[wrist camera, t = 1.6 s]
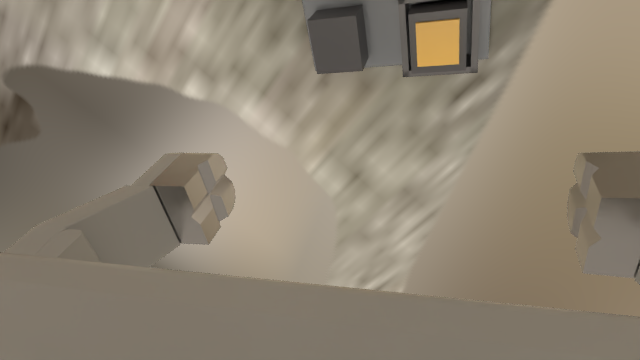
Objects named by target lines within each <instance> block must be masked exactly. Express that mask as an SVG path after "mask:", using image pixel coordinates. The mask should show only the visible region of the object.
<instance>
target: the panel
mask: <svg viewBox="0 0 640 360" xmlns="http://www.w3.org/2000/svg"><path fill="white" fill-rule="evenodd" d="M439 1H448V0H302V3H303V8H304V14H305V19H306V24H307V29H308V34H309V39H310V45H311V50H312V55H313V60H314V65H315V70H316V71H317V74H323V73H338V72H353V71H363V69H364V68H365V67H379V66H393V65H402V68H403V77H412V76H429V75H445V74H461V73H478V59H488V53H489V34H490V15H491V0H467V45H466V70H464V71H448V72H432V73H416V74H412V72H411V54H410V36H409V18H408V14H409V11H410V8H411V5H413V4H422V3H430V2H439Z"/></svg>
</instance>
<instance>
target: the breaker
mask: <svg viewBox="0 0 640 360" xmlns="http://www.w3.org/2000/svg"><path fill="white" fill-rule="evenodd" d="M408 18H409V36H410V54H411V72H412V74H416V73H432V72H448V71H464V70H466V45H467V0H448V1H439V2H430V3H422V4H413V5H411V8H410V11H409V14H408Z"/></svg>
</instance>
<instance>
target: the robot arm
mask: <svg viewBox="0 0 640 360" xmlns="http://www.w3.org/2000/svg"><path fill="white" fill-rule="evenodd" d="M226 170H227V166H226V163H225V161H224V158H223V157H222V156H221V155H219V154H218V153H168V154H165V155H163V156H162V157H161V158H160V159H159V160H158V161H157V162H156V163H155V164H154V165H153V166H152V167H150V169H148V171H146V172H145V173H144V174H143V175H142V176H141V177H140V178H139V179H138V180H136V181H135V182H134V183H133V184H132V185H131V186H124V187H122V188H119V189H117V190H115V191H113V192H110V193H108V194H106V195H104V196H101V197H99V198H97V199H95V200H92V201H90V202H88V203H86V204H83V205H81V206H79V207H77V208H74V209H72V210H70V211H68V212H65V213H63V214H61V215H59V216H56V217H54V218H52V219H50V220H47V221H45V222H43V223H40V224H38V225H36V226H35V227H34V228H32V229H31V230H30V231H29V232H28V233H26V234H25V235H24V236H23V237H22V238H20V239H19V240H18V241H17V242H15V243H14V244H13V245H12V246H11V247H9V249H7V250H6V251H4V252H0V360H640V317H635V316H625V315H616V314H605V313H596V312H586V311H576V310H567V309H556V308H547V307H537V306H527V305H516V304H507V303H497V302H487V301H478V300H467V299H458V298H448V297H438V296H428V295H417V294H408V293H398V292H389V291H379V290H369V289H359V288H349V287H339V286H329V285H319V284H309V283H299V282H289V281H279V280H269V279H260V278H250V277H239V276H230V275H220V274H210V273H200V272H190V271H181V270H171V269H161V268H150V266H152V265H153V264H154V263H156V262H157V261H159V260H160V259H161V258H162V257H164V256H165V255H167V254H168V253H170V252H171V251H172V250H174V249H175V248H176V247H178V246H179V245H180V243H184V244H185V243H186V244H207V245H209V243H210V242H211V241H212V239H213V238H214V236H215V235H216V233H217V231H218V230H219V229H220V227H221V226H220V222H219V221H221V220H223V219H224V218H226V217H228V216H229V214H230V213H231V211H232V209H233V207H234V203H235V189H234V186H233V183H232V181H231V180H229V179H228V178H227V177H226V176H225V172H226ZM573 172H574V175H575V178H576V181H577V183H576V184H575V185H574V186H573V187H572V188H571V189H570V191H569V197H568V205H567V206H568V207H567V217H568V224H569V228H570V232H571V234H573V235H574V236H575V237H577V243H576V248H575V249H576V253H577V256H578V259H579V262H580V266H581V269H582V273H587V274H597V275H607V276H617V277H627V278H635V281H636V282H637V283H638V284H639V285H640V152H600V153H599V152H598V153H578V155H577V158H576V161H575V165H574V170H573Z"/></svg>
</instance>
